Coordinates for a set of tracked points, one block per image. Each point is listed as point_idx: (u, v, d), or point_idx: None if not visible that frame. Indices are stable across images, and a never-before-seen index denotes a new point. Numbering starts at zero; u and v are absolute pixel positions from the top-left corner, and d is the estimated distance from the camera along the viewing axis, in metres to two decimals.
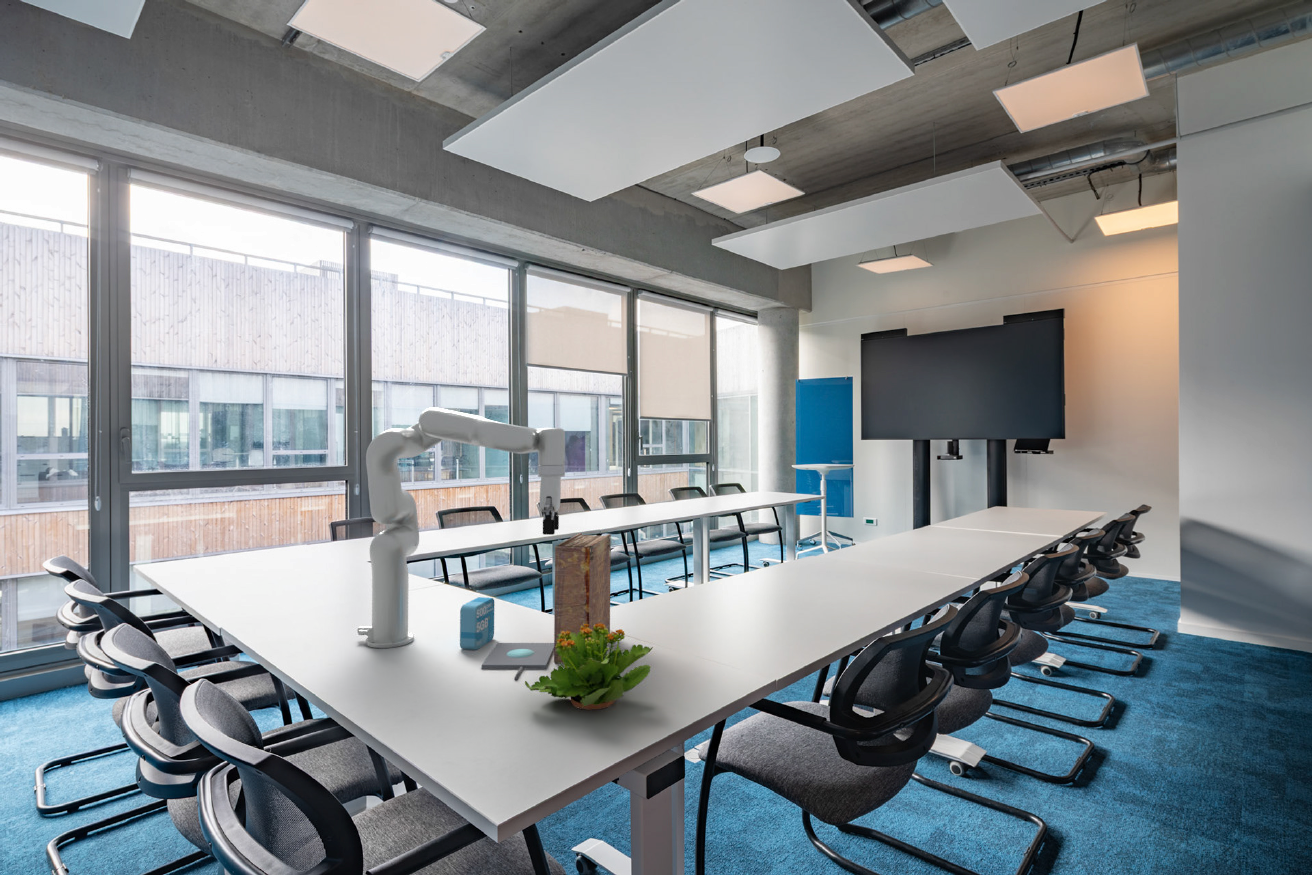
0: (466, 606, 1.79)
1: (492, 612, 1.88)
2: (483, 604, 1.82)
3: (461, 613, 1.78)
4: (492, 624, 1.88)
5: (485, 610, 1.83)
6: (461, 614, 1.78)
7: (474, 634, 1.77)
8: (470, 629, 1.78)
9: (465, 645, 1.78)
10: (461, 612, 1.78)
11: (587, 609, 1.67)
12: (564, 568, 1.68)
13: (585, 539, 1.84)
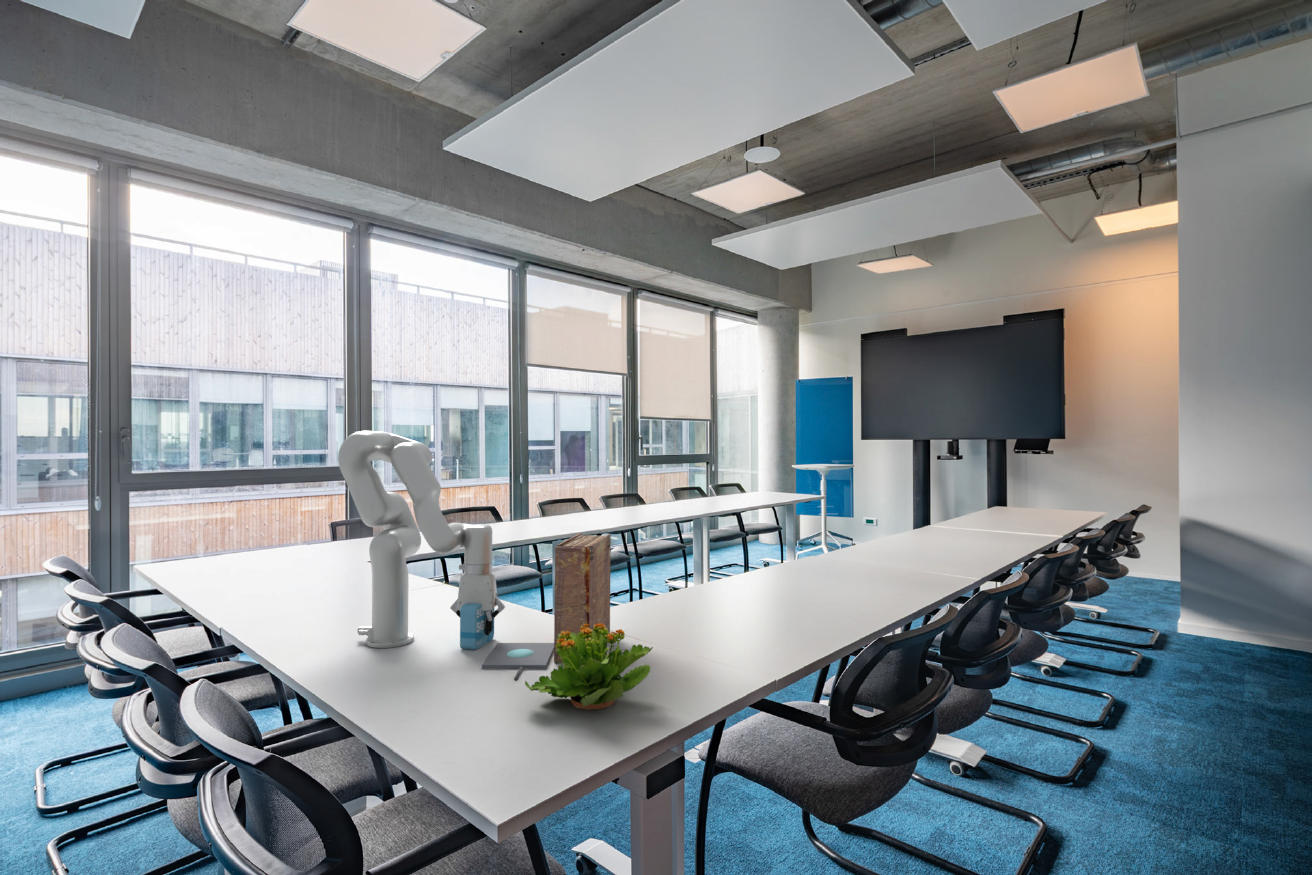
0: (466, 606, 1.79)
1: None
2: None
3: (461, 613, 1.78)
4: None
5: None
6: (461, 614, 1.78)
7: (474, 634, 1.77)
8: (470, 629, 1.78)
9: (465, 645, 1.78)
10: (461, 612, 1.78)
11: (587, 609, 1.67)
12: (564, 568, 1.68)
13: (585, 539, 1.84)
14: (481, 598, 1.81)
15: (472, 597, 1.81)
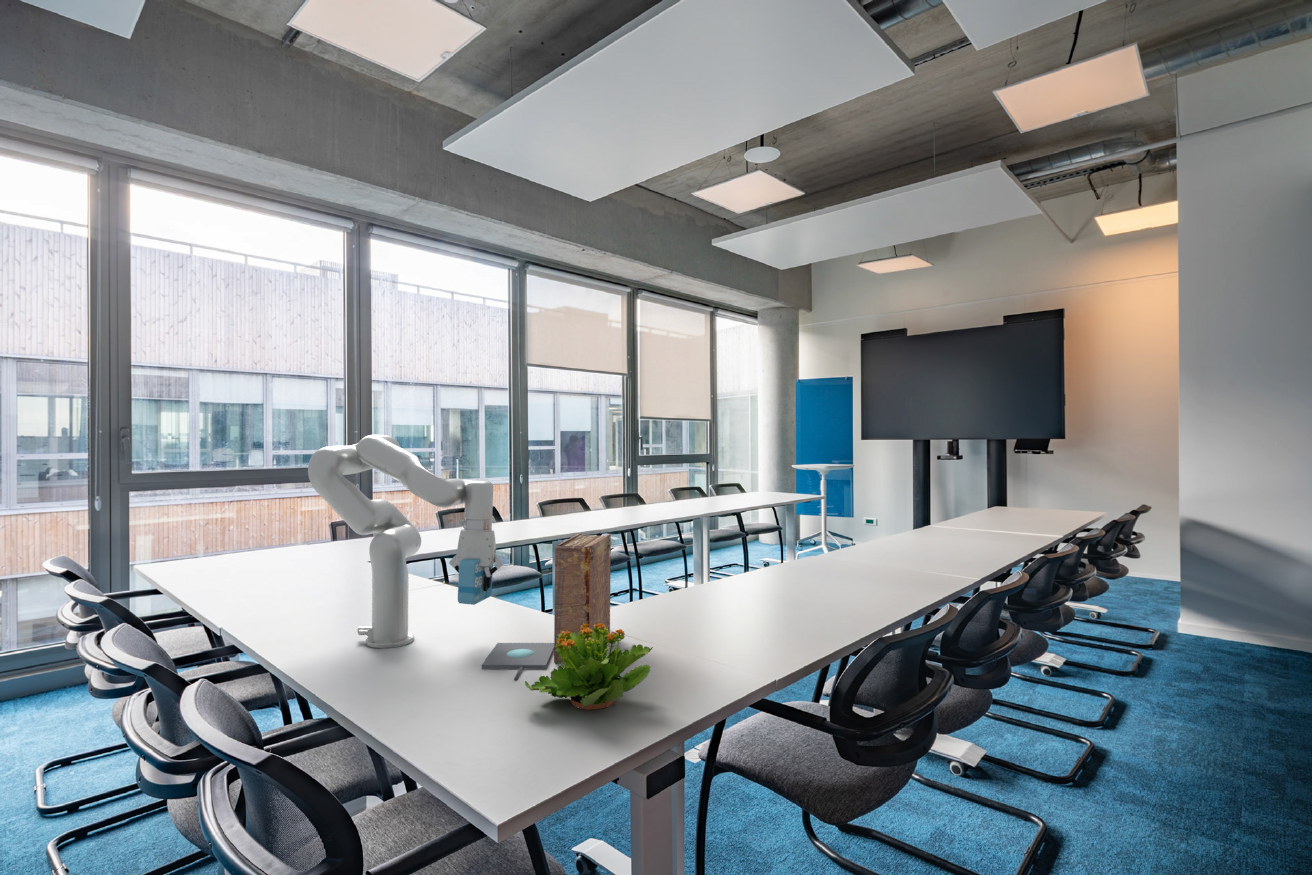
0: (465, 561, 1.79)
1: None
2: None
3: (460, 567, 1.78)
4: None
5: None
6: (460, 568, 1.78)
7: (472, 589, 1.78)
8: (468, 583, 1.78)
9: (462, 599, 1.78)
10: (460, 566, 1.78)
11: (587, 609, 1.67)
12: (564, 568, 1.68)
13: (585, 539, 1.84)
14: (480, 553, 1.81)
15: (471, 552, 1.81)
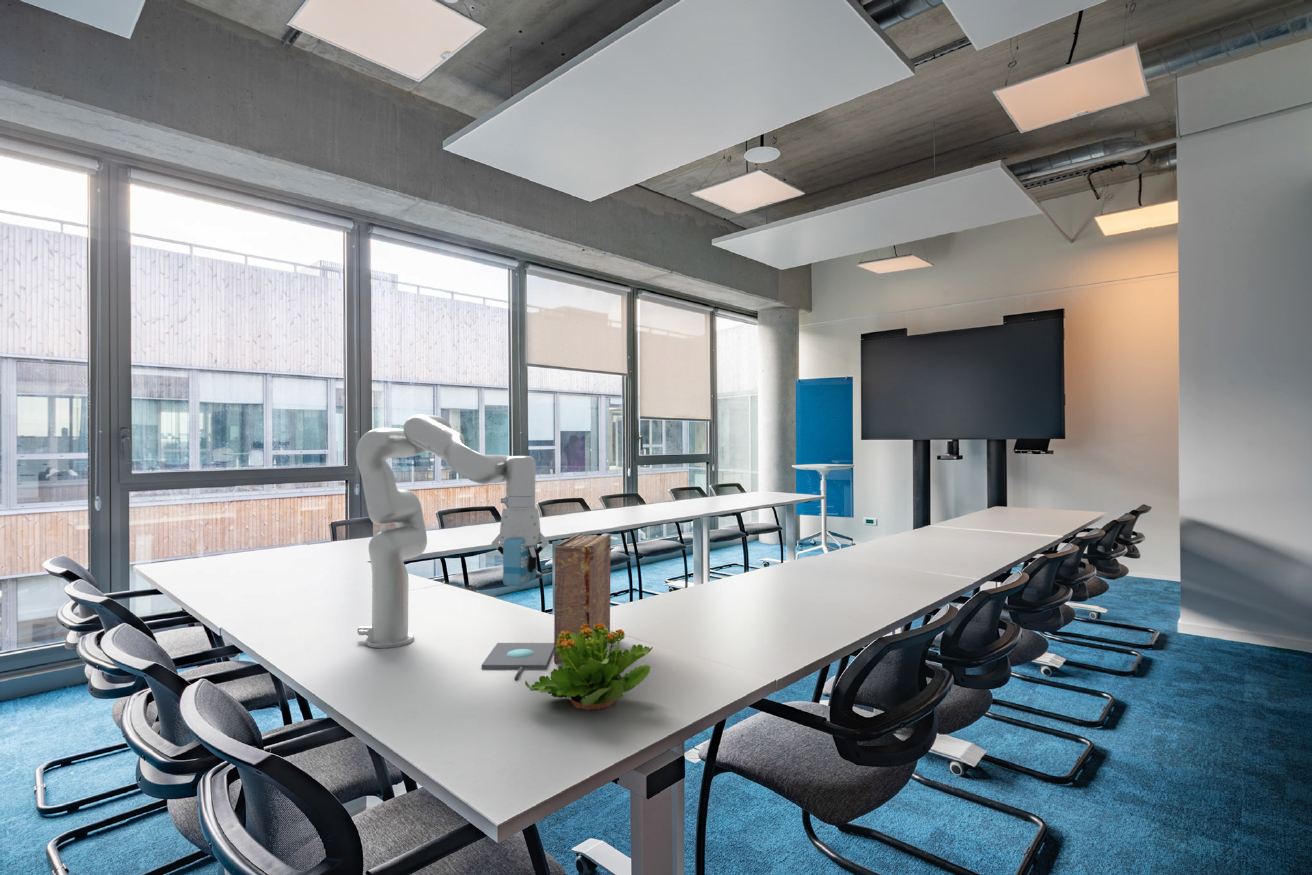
0: (509, 540, 1.69)
1: None
2: None
3: (504, 547, 1.68)
4: None
5: None
6: (504, 548, 1.68)
7: (518, 569, 1.67)
8: (514, 563, 1.67)
9: (508, 581, 1.68)
10: (504, 546, 1.68)
11: (587, 609, 1.67)
12: (564, 568, 1.68)
13: (585, 539, 1.84)
14: (525, 532, 1.71)
15: (515, 531, 1.71)
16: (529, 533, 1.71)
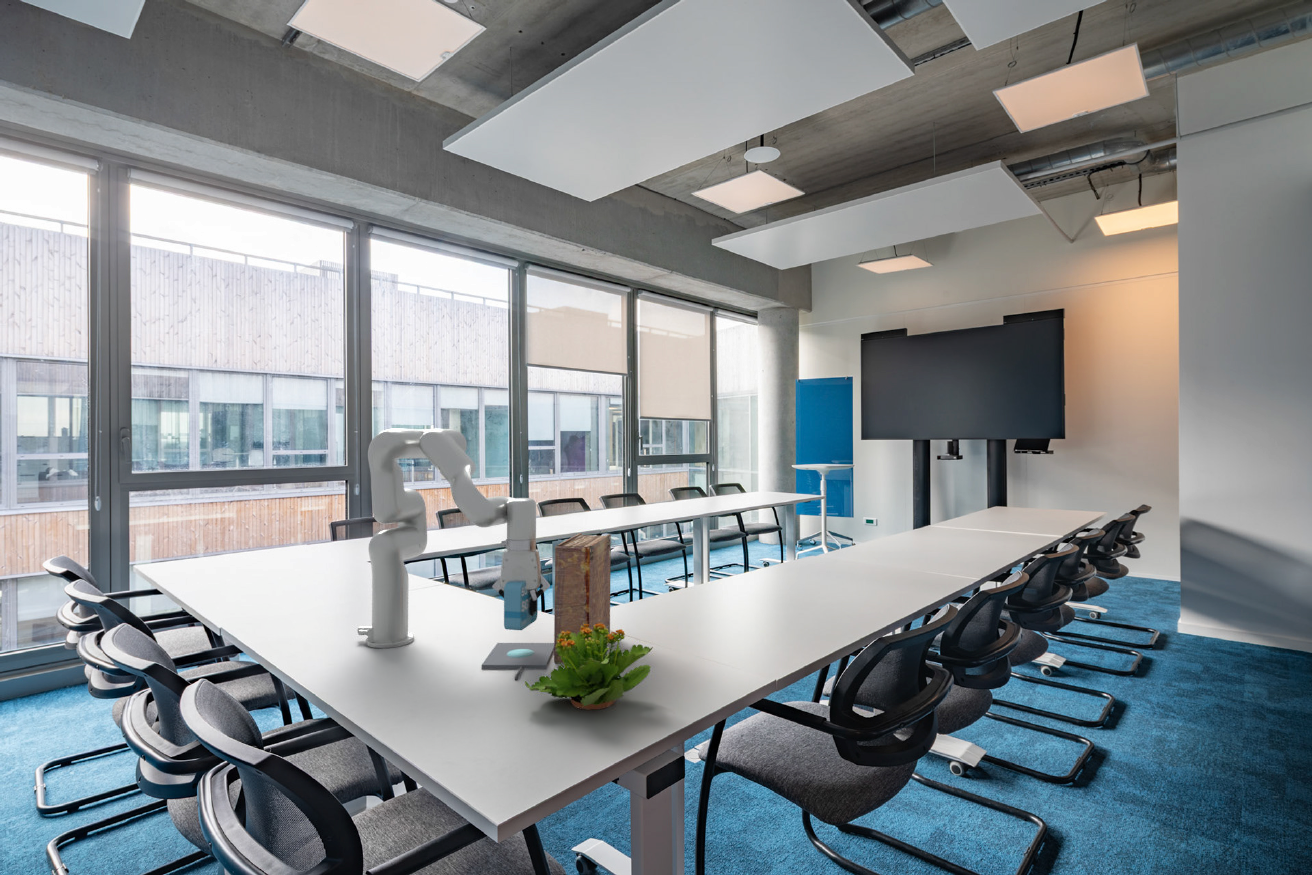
0: (510, 584, 1.68)
1: None
2: None
3: (505, 591, 1.67)
4: None
5: None
6: (505, 592, 1.67)
7: (519, 613, 1.67)
8: (515, 608, 1.67)
9: (509, 625, 1.67)
10: (505, 590, 1.67)
11: (587, 609, 1.67)
12: (564, 568, 1.68)
13: (585, 539, 1.84)
14: (525, 576, 1.70)
15: (516, 575, 1.70)
16: (530, 576, 1.70)
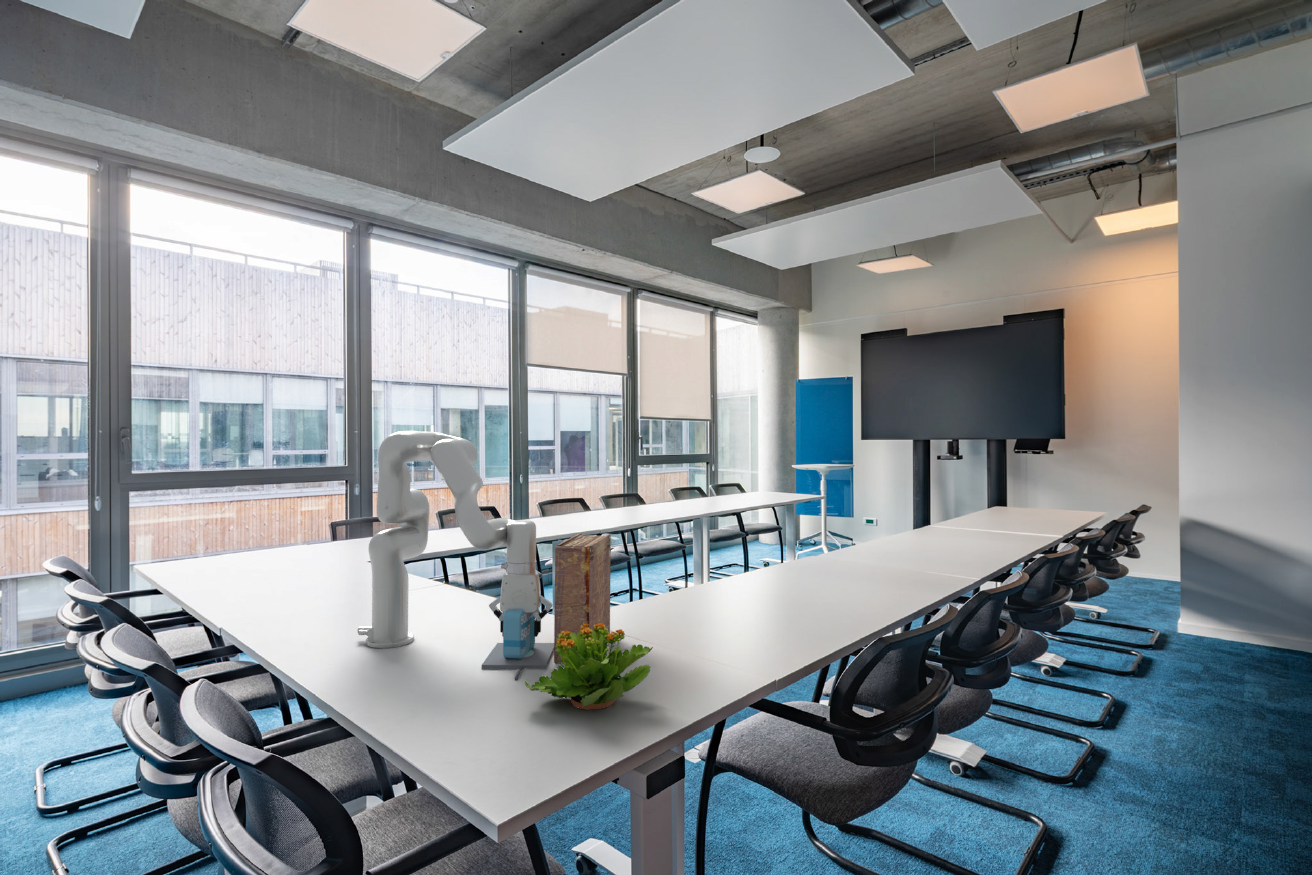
0: (509, 612, 1.68)
1: (533, 618, 1.77)
2: None
3: (504, 620, 1.67)
4: (533, 631, 1.77)
5: (527, 616, 1.73)
6: (504, 621, 1.67)
7: (519, 642, 1.67)
8: (514, 636, 1.67)
9: (508, 654, 1.67)
10: (504, 619, 1.67)
11: (587, 609, 1.67)
12: (564, 568, 1.68)
13: (585, 539, 1.84)
14: (525, 599, 1.70)
15: (515, 598, 1.70)
16: (529, 599, 1.70)
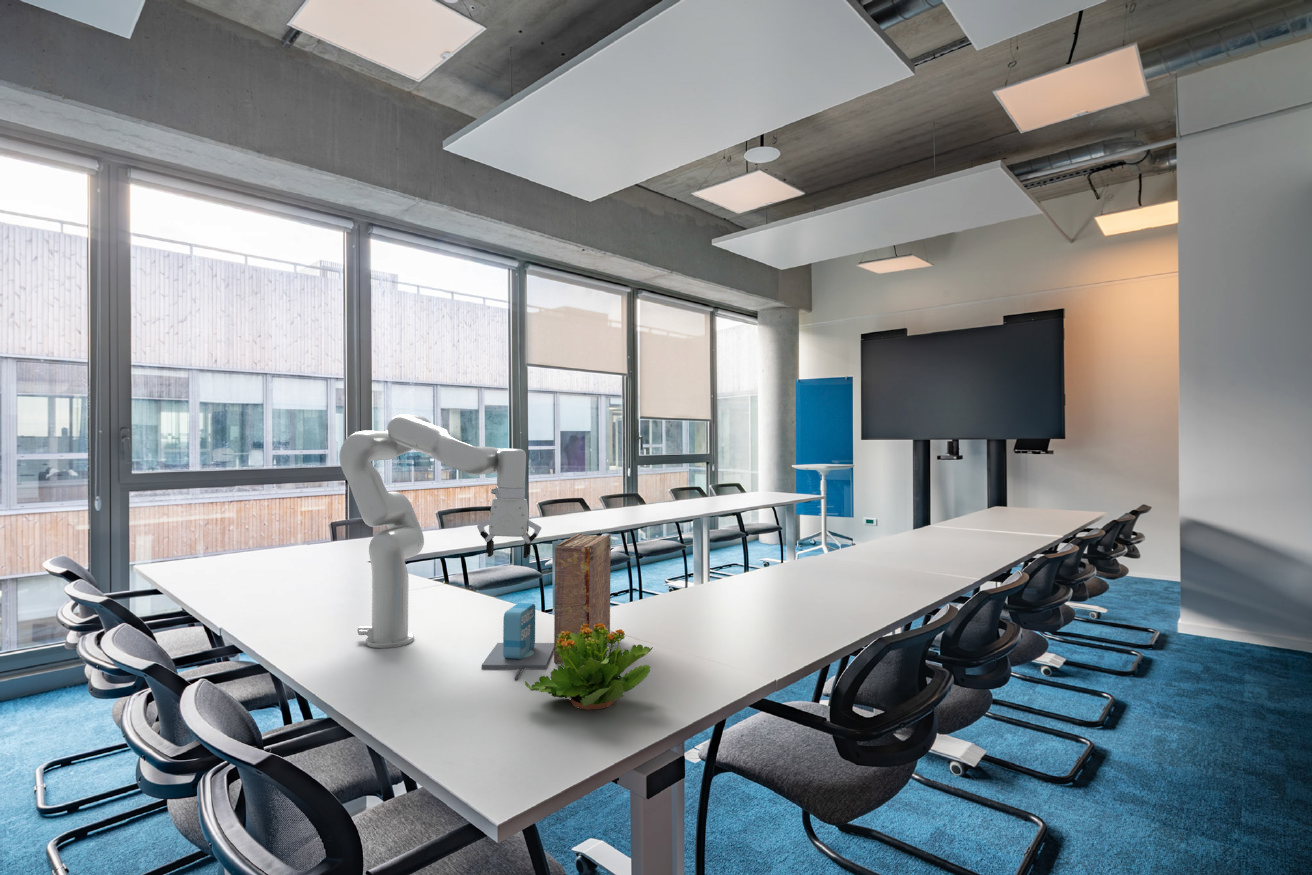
0: (510, 613, 1.68)
1: (533, 618, 1.77)
2: (526, 610, 1.72)
3: (504, 620, 1.67)
4: (533, 631, 1.77)
5: (528, 616, 1.73)
6: (504, 621, 1.67)
7: (519, 642, 1.67)
8: (515, 637, 1.67)
9: (508, 654, 1.67)
10: (504, 619, 1.67)
11: (587, 609, 1.67)
12: (564, 568, 1.68)
13: (585, 539, 1.84)
14: (513, 523, 1.76)
15: (504, 521, 1.77)
16: (517, 523, 1.77)
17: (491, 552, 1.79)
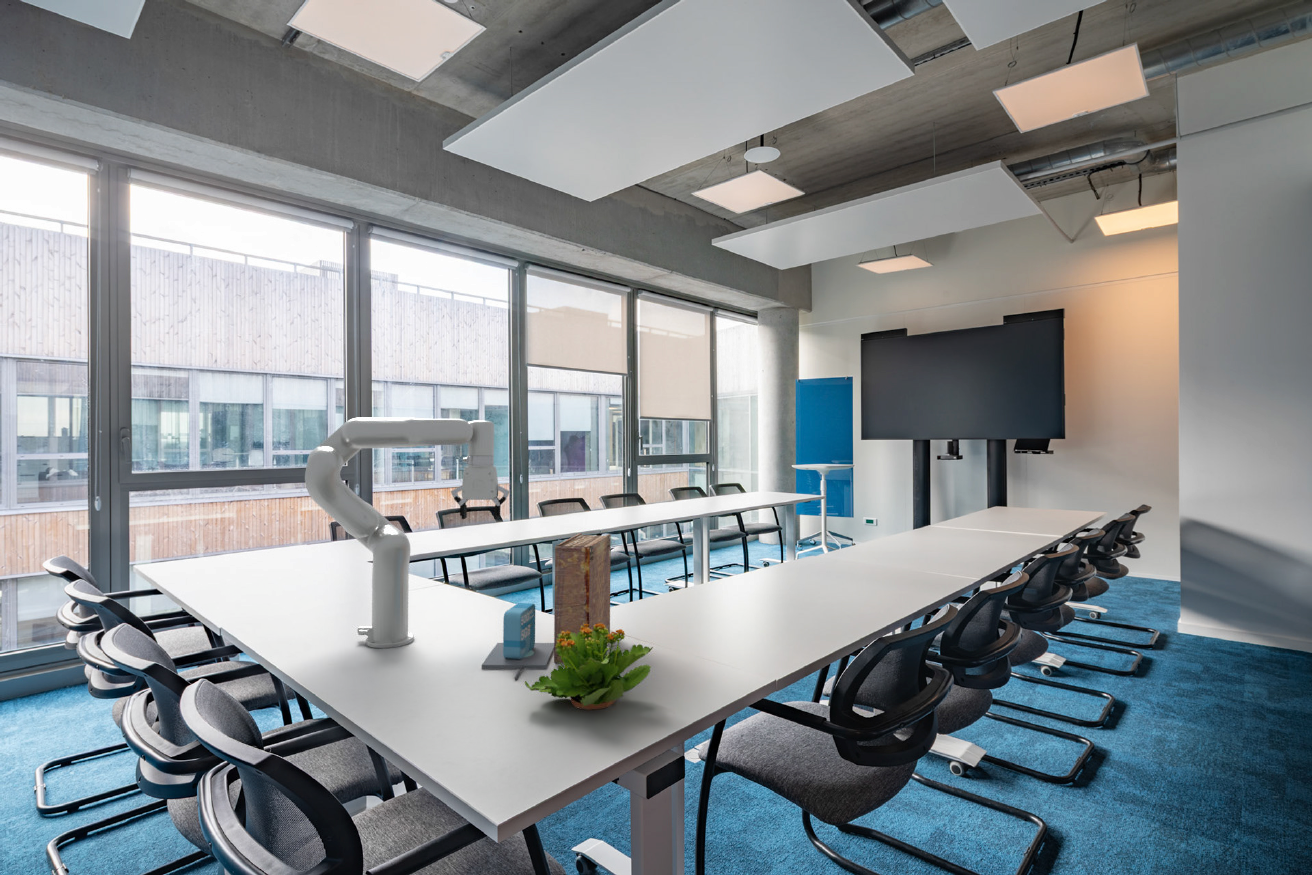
0: (510, 613, 1.68)
1: (533, 618, 1.77)
2: (526, 610, 1.72)
3: (504, 620, 1.67)
4: (533, 631, 1.77)
5: (528, 616, 1.73)
6: (504, 621, 1.67)
7: (519, 642, 1.67)
8: (515, 637, 1.67)
9: (508, 654, 1.67)
10: (504, 619, 1.67)
11: (587, 609, 1.67)
12: (564, 568, 1.68)
13: (585, 539, 1.84)
14: (483, 487, 1.95)
15: (475, 486, 1.95)
16: (487, 488, 1.95)
17: (464, 515, 1.97)
